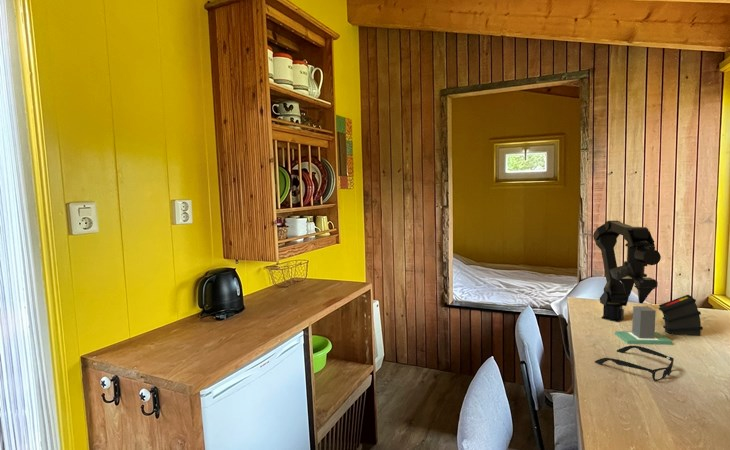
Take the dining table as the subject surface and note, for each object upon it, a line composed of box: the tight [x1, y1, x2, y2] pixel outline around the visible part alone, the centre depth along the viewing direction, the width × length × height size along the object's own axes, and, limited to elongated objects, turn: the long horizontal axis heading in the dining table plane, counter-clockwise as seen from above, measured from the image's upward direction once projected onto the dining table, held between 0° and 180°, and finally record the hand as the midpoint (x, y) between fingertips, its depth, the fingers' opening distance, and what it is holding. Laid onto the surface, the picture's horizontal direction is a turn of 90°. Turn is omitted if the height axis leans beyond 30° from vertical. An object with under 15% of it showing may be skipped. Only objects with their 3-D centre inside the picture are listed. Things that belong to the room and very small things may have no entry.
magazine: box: [658, 294, 704, 337], centre depth 151 cm, size 4×13×15 cm, turn 78°
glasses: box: [594, 345, 675, 382], centre depth 127 cm, size 17×18×5 cm
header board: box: [614, 330, 674, 346], centre depth 148 cm, size 9×15×5 cm, turn 83°
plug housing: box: [631, 305, 657, 339], centre depth 147 cm, size 5×5×10 cm
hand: (634, 299), depth 153 cm, fingers open, 9 cm apart
